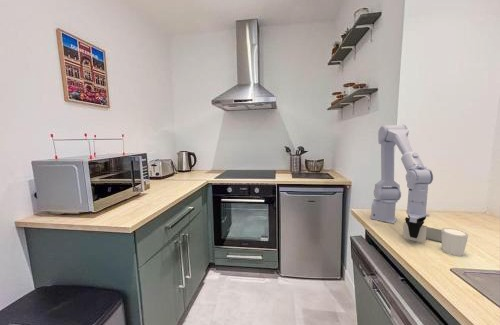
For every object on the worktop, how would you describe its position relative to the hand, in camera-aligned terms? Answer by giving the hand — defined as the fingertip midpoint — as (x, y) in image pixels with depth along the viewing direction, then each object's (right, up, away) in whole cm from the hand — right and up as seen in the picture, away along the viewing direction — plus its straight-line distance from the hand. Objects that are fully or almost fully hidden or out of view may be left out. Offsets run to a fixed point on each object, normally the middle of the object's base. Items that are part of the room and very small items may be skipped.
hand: (414, 235), depth 86 cm
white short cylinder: (+7, -3, -9) cm, 11 cm away
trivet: (+10, -1, +3) cm, 11 cm away
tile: (0, -2, 0) cm, 2 cm away
